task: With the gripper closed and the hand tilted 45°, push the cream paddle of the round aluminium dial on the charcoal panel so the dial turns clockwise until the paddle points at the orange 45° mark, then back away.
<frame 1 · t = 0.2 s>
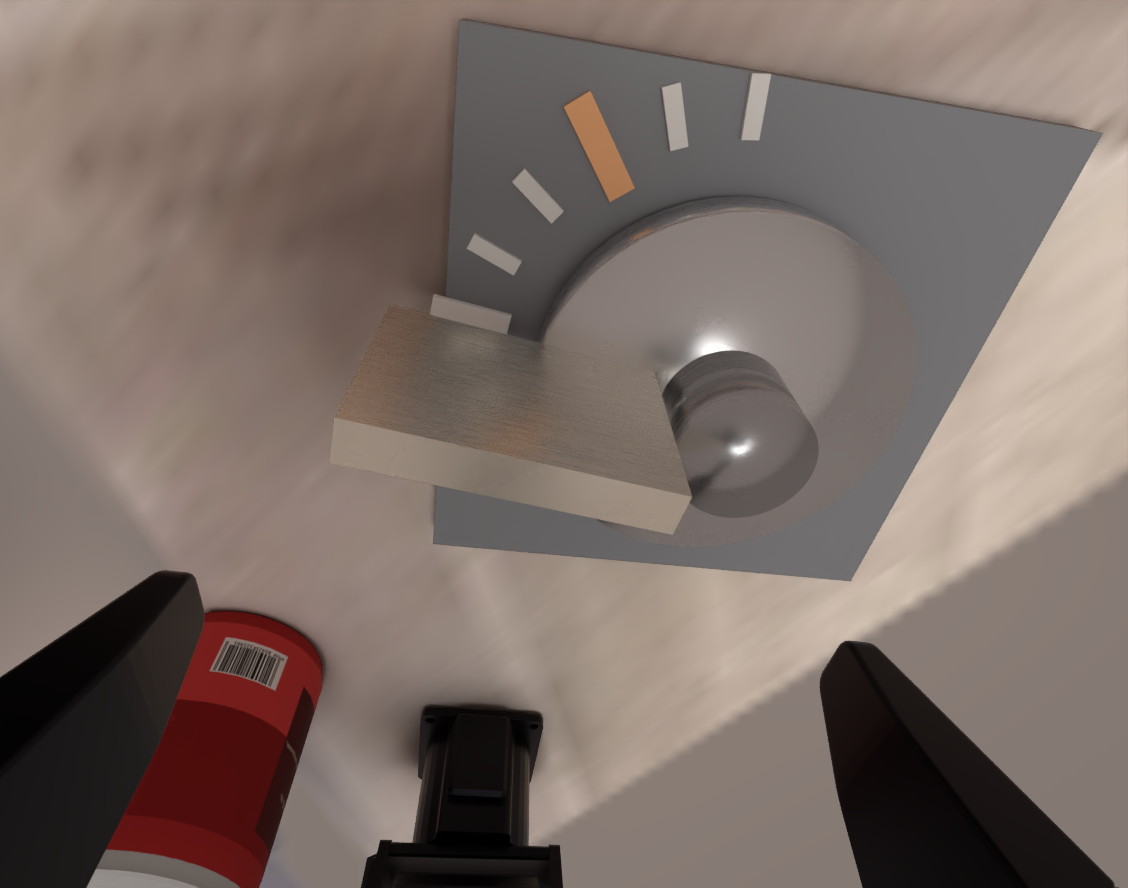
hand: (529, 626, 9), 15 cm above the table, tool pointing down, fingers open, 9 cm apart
canned food: (245, 655, 32), on the table
dial: (665, 427, 18), point 5 cm above the table, hinge at 0.0°
panel: (700, 359, 23), on the table
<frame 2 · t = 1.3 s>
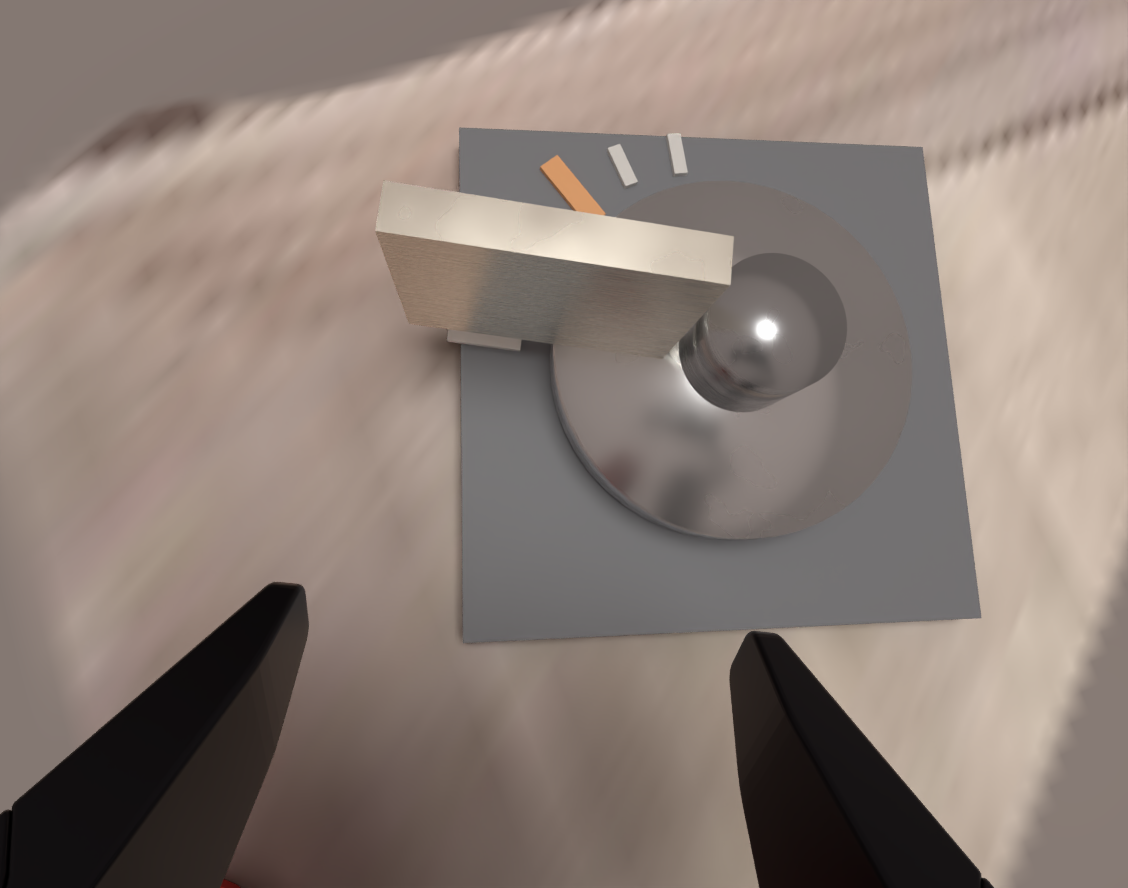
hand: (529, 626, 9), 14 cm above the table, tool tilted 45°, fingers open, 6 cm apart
dial: (691, 320, 19), point 5 cm above the table, hinge at 0.0°
panel: (705, 377, 24), on the table
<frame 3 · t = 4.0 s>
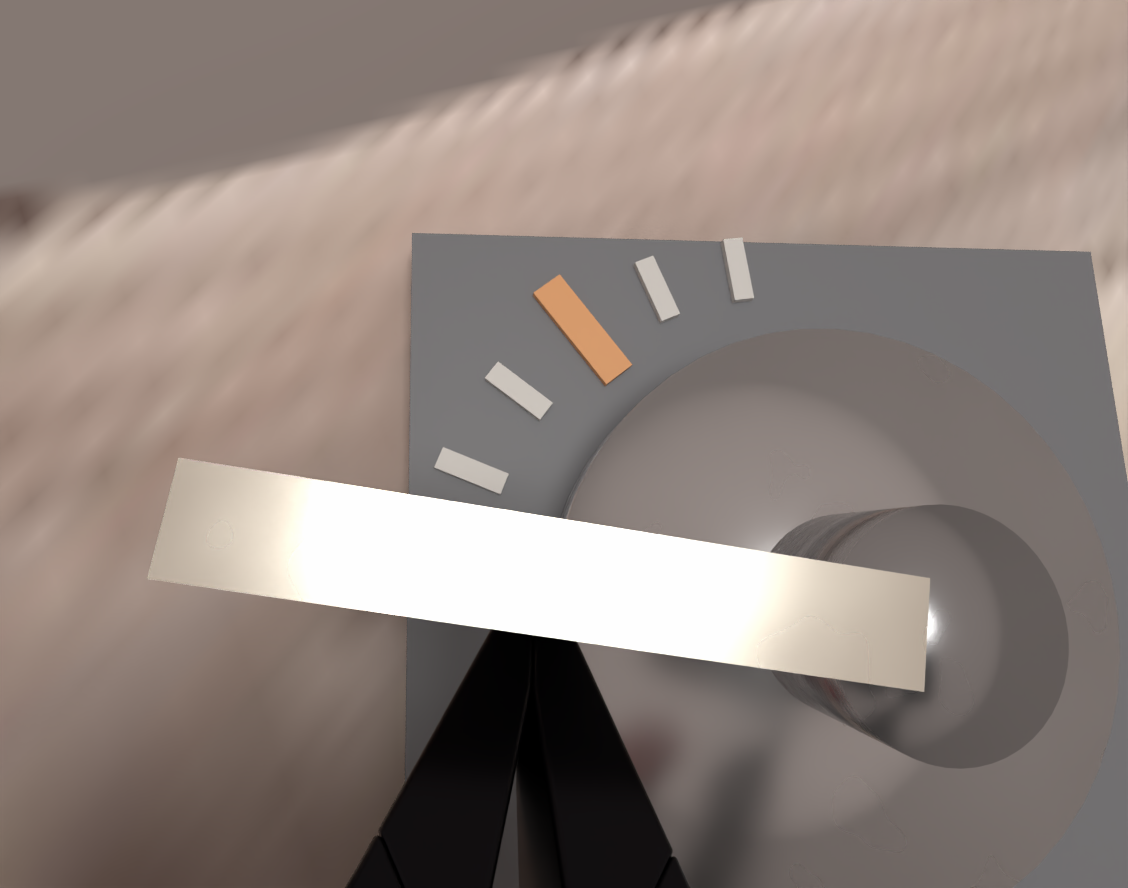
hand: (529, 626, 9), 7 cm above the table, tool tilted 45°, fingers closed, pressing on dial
dial: (788, 606, 11), point 5 cm above the table, hinge at 2.2°, touching gripper
panel: (778, 600, 16), on the table
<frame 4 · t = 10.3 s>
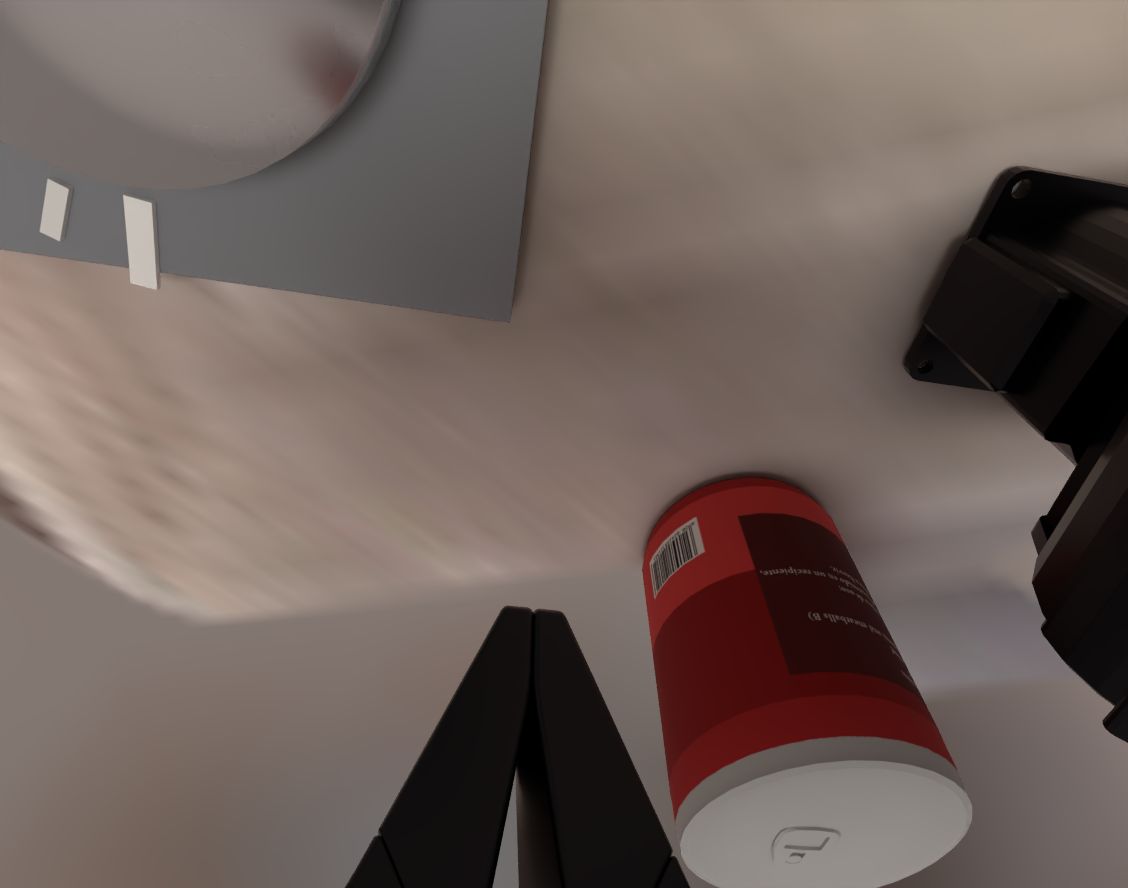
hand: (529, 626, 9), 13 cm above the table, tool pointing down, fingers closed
canned food: (733, 544, 26), on the table
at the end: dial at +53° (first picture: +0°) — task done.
